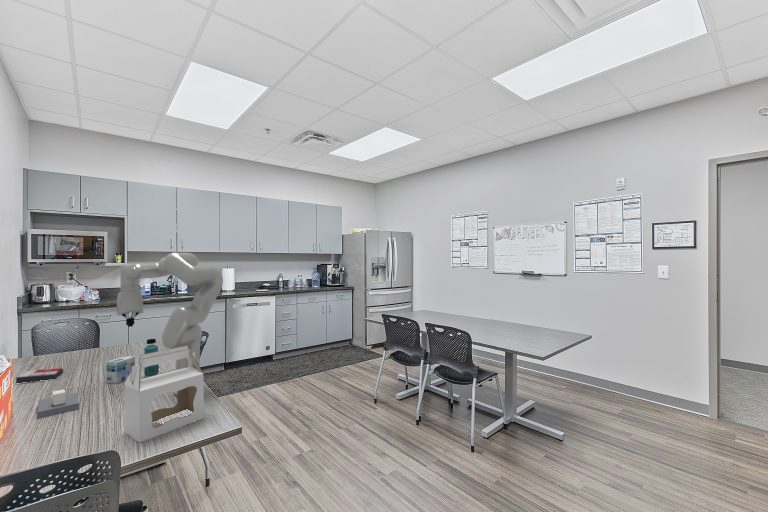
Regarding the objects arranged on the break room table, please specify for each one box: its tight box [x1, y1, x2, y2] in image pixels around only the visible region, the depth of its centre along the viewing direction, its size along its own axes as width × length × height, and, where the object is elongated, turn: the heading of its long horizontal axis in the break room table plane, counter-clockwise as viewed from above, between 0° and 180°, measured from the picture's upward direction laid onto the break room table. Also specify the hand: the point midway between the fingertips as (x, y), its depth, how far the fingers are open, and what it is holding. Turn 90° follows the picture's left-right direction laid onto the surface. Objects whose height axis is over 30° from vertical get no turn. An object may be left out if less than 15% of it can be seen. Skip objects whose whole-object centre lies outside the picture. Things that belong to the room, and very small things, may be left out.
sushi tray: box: [15, 367, 64, 384], centre depth 182 cm, size 11×4×15 cm
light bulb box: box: [105, 355, 136, 385], centre depth 179 cm, size 11×7×11 cm, turn 168°
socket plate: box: [37, 392, 80, 419], centre depth 146 cm, size 16×12×3 cm
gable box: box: [123, 346, 205, 443], centre depth 130 cm, size 22×13×28 cm, turn 145°
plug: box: [52, 389, 66, 406], centre depth 143 cm, size 5×4×7 cm
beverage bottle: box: [143, 338, 160, 377], centre depth 182 cm, size 6×7×20 cm
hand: (130, 326), depth 170 cm, fingers closed
